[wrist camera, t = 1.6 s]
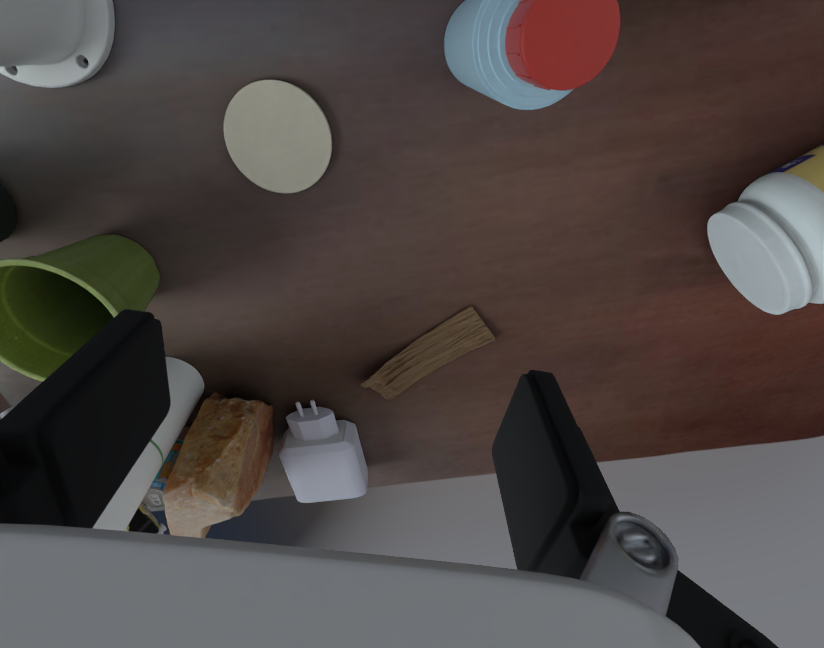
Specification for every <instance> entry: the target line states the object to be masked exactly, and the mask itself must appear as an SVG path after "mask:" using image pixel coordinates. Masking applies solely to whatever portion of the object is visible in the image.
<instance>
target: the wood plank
mask: <svg viewBox="0 0 824 648" xmlns="http://www.w3.org/2000/svg"><path fill="white" fill-rule="evenodd" d="M494 340H496V339H495V337H494V336H493V334H492V333H491V332H490V330H489V329H488V327H487V326H486V325H485V323H484V322H483V320H482V319H481V317H479V315H478V314H477V313H476V311H475V310H474V309H473V307H472V306H470V307H468V308H467V309H465V310H463V311H462V312H460V313H458V314H457V315H455V316H453V317H452V318H450V319H449V320H447V321H446V322H444V323H442V324H441V325H439V326H438V327H436V328H435V329H433V330H432V331H430V332H428V333H427V334H425V335H423V336H422V337H420V338H418V339H417V340H416V341H414V342H413V343H411V344H410V345H409V346H408V347H407V348H406V349H404V350H403V351H401V352H400V353H399V354H398V355H396V356H394V357H393V358H392V359H390V360H389V361H388V362H386V363H385V364H384V365H383V366H382V367H381V369H379V370H378V371H377V372H376V373H375V374H373V375H372V376H371V377H370V378H369V379H368V380H366V381H365V382H363V383H362V384H360V385H361V386H362V387H363V388H367V387H370V388H371V389H373V390H374V391H376V392H377V393H379V394H380V395H381V396H382V397H383V398H385V400H386V401H388V400H390V399H392V398H394V397H396V396H398V395H400V394H401V393H403V392H404V391H405V390H407V389H408V388H409V387H410V386H412V385H413V384H415V383H416V382H417V381H419V380H420V379H422V378H423V377H425V376H426V375H428V374H429V373H431V372H433V371H434V370H436V369H438V368H439V367H441V366H443V365H445V364H447V363H449V362H451V361H453V360H455V359H457V358H458V357H460V356H462V355H464V354H466V353H468V352H469V351H472V350H474V349H475V348H479V347H482V346H484V345H486V344H488V343H490V342H492V341H494Z"/></svg>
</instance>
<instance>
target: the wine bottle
mask: <svg viewBox="0 0 824 648" xmlns="http://www.w3.org/2000/svg"><path fill="white" fill-rule="evenodd" d="M15 226H16V210H15V208H14V205H13V203H12V200H11V198H10V196H9V194H8V193H7V192H6V191H5V189H4V188H3V187H2V185H1V184H0V242H1V241H3V240H5V239H7V238H8V237H9V236H10V235H11V233H12V231H13V229H14V228H15Z"/></svg>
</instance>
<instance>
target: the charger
mask: <svg viewBox="0 0 824 648" xmlns="http://www.w3.org/2000/svg"><path fill="white" fill-rule="evenodd" d="M295 404H296V407H297V410H298V411H295V412H293V413H291V414H289V415H288V416H287V417H286V420H287V422H288V425H289V428H288V429H287V430H286V432H285V433H284V434H283V438H282V441H281V444H280V448H279V451H278V455H279V458H280V460H281V462H282V465H283V467H284V470H285V472H286V474H287V477H288V479H289V481H290V484H291V486H292V489H293V491H294V493H295V496H296V498H297V500H298V501H299V502H302V503H310V502H320V501H329V500H339V499H348V498H356V497H360V496H362V495H364V494H365V493H366V491H367V481H368V470H367V466H366V462H365V458H364V455H363V451H362V447H361V443H360V440H359V436H358V432H357V429H356V425H355V424H354V423H352V422H349V421H346V420H335V416H334V413H333V411H332V410H331V409H328V408H324V407H316V404H315V401H314V400H311V401H310V404H311V407H312V408H304V409H302V407H301V405H300V402H296V403H295Z"/></svg>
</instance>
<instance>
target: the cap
mask: <svg viewBox="0 0 824 648" xmlns="http://www.w3.org/2000/svg"><path fill="white" fill-rule="evenodd" d="M506 29H507V30H506V36H505V50H506V56H507V59H508V62H509V65H510V67H511V68H512V70H513V71H514V73H515V74H516V76H517V77H519V78H520V79H522V80H523V81H525V82H527V83H529V84H532V85H534V87H538V88H542V89H546V90H551V89H552V90H559V91H566V90H572V89H575V88H578V87H580V86H582V85H584V84H586V83H588V82H589V81H591V80H592V79H593V78H594V77H596V76H597V75H598V74H599V73H600V72H601V70H602V69H603V68H604V67H605V65H606V64H607V63H608V61H609V59H610V58H611V56H612V54H613V52H614V49H615V47H616V44H617V41H618V37H619V32H620V10H619V6H618V2H617V0H522V1H519V3H518V6H517V7H516V9H515V10H514V12H513V14H512V16H511V18H510V20H509V23H508V26H507V27H506Z"/></svg>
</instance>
